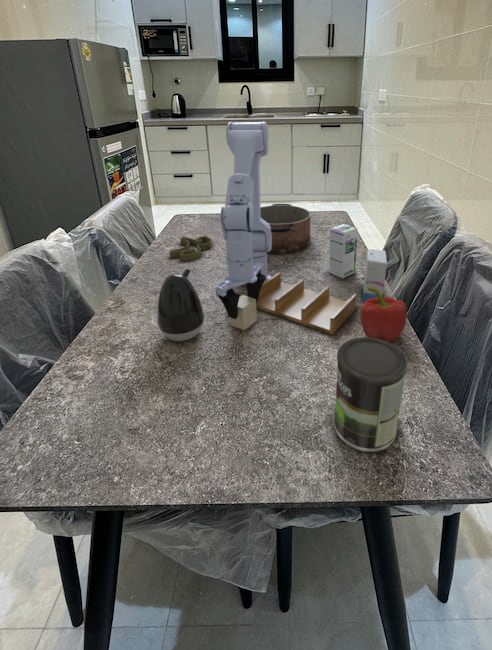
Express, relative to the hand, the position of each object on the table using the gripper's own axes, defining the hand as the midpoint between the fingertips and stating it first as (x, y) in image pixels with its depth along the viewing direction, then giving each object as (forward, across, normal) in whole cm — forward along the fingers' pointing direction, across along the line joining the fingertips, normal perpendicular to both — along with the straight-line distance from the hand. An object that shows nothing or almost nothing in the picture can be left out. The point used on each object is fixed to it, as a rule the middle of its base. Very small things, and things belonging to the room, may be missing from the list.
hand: (243, 309), depth 90 cm
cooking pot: (+4, +48, +22) cm, 53 cm away
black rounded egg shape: (+4, -11, +9) cm, 15 cm away
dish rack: (+4, +14, -8) cm, 17 cm away
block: (+4, 0, 0) cm, 4 cm away
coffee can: (+4, -13, -36) cm, 38 cm away
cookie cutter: (+4, +26, +44) cm, 51 cm away
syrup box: (+4, +37, -8) cm, 38 cm away
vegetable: (+4, +13, -29) cm, 32 cm away
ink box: (+4, +29, -21) cm, 36 cm away
